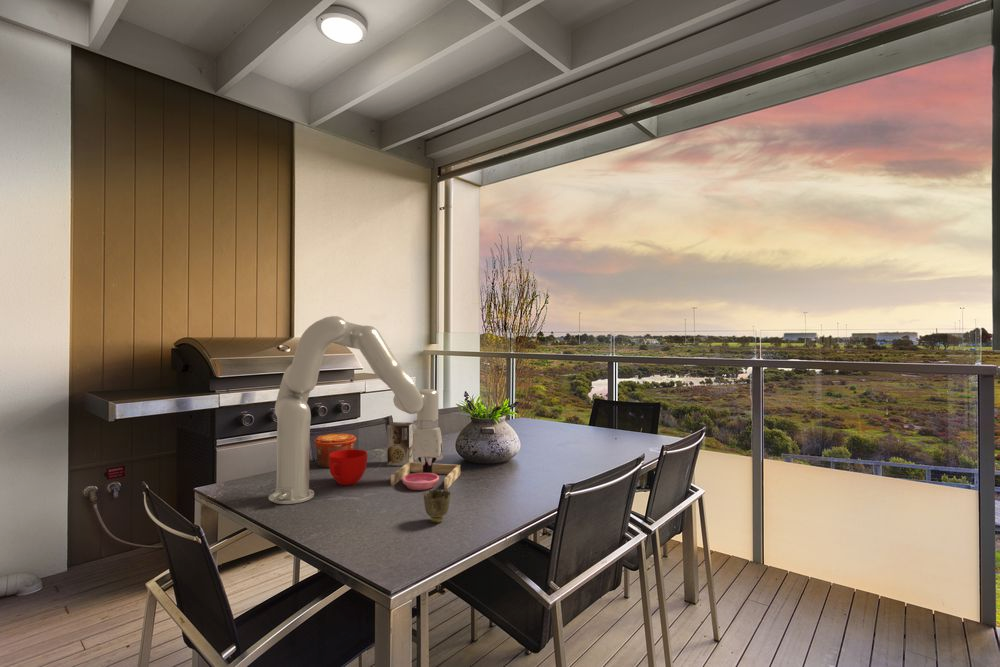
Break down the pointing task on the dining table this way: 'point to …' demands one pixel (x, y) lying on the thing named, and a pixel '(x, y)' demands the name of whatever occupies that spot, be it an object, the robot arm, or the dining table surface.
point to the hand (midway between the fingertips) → (427, 475)
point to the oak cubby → (417, 467)
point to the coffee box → (399, 443)
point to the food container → (332, 446)
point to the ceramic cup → (347, 465)
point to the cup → (436, 504)
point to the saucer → (420, 481)
